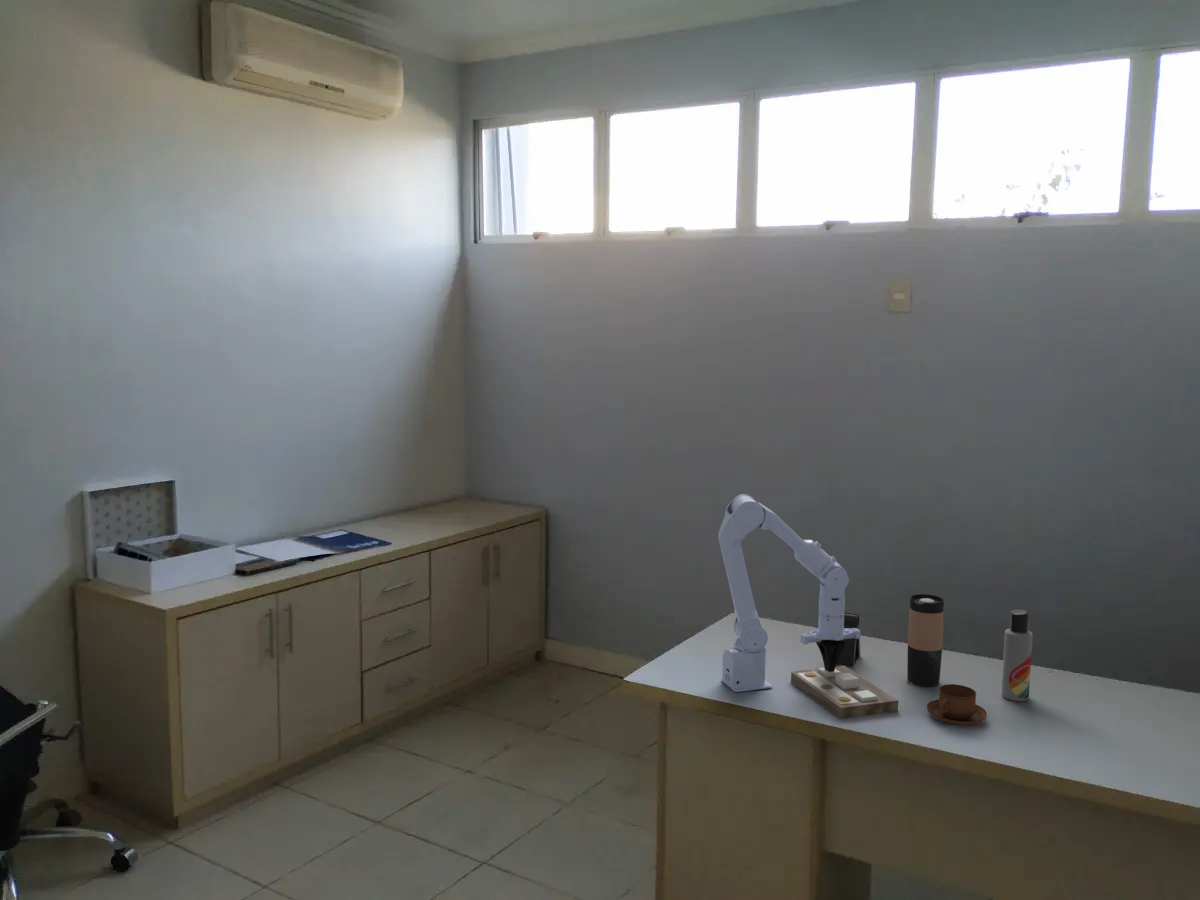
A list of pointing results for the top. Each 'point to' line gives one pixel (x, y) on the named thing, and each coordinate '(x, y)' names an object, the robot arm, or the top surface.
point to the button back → (828, 674)
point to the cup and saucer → (957, 706)
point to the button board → (843, 694)
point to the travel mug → (925, 640)
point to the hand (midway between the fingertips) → (829, 670)
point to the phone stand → (850, 643)
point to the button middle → (846, 681)
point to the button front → (865, 696)
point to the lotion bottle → (1017, 657)
